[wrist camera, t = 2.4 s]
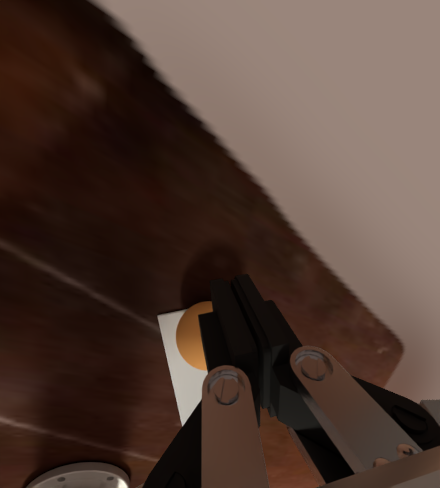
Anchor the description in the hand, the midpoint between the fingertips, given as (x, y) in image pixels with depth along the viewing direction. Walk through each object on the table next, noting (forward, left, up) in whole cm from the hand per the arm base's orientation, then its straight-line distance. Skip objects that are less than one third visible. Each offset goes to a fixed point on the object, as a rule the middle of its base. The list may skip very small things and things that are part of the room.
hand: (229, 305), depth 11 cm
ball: (-10, 0, -9) cm, 13 cm away
